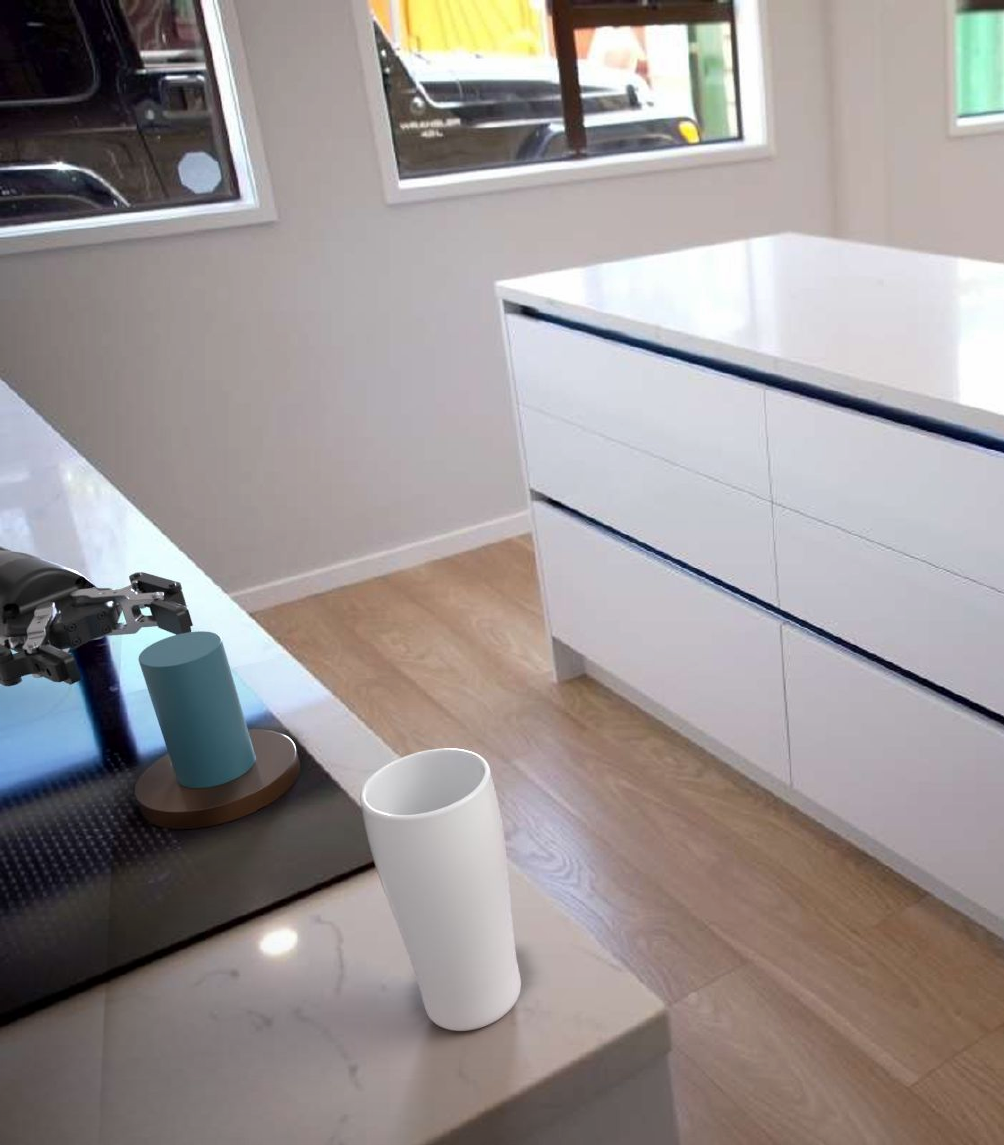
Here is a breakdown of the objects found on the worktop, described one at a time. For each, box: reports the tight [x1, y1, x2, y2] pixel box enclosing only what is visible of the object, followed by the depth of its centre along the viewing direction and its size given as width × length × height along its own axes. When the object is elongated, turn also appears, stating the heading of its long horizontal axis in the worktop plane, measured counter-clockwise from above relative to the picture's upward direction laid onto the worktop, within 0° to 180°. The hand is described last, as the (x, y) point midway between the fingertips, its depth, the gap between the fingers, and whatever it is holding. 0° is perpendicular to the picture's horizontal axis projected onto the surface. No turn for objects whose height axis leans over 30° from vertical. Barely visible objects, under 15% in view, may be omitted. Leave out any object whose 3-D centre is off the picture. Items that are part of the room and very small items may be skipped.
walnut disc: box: [134, 729, 301, 830], centre depth 97 cm, size 11×11×2 cm
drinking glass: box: [359, 748, 522, 1032], centre depth 71 cm, size 7×7×15 cm
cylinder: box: [137, 630, 256, 788], centre depth 94 cm, size 5×5×10 cm
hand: (131, 646), depth 97 cm, fingers open, 8 cm apart
